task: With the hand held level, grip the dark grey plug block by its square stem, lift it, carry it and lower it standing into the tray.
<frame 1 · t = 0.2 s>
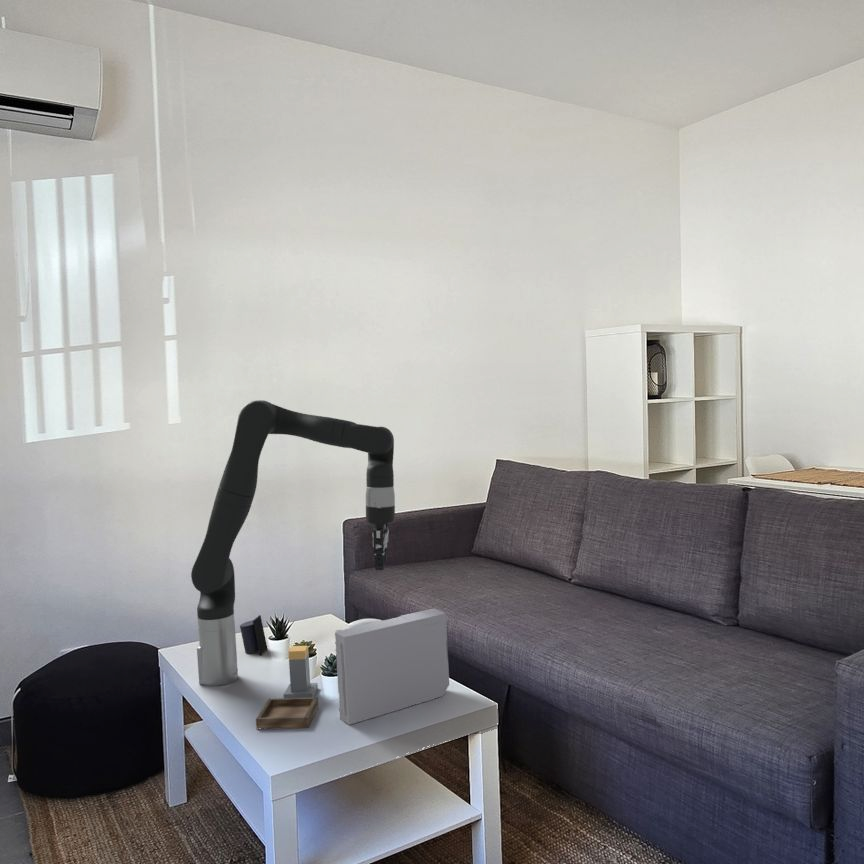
hand: (380, 566, 205), 28 cm above the table, tool pointing down, fingers open, 8 cm apart
speaker: (253, 652, 229), on the table
tray: (288, 717, 180), on the table
game console: (394, 706, 184), on the table
photo printer: (367, 665, 214), on the table
plug: (301, 694, 194), on the table
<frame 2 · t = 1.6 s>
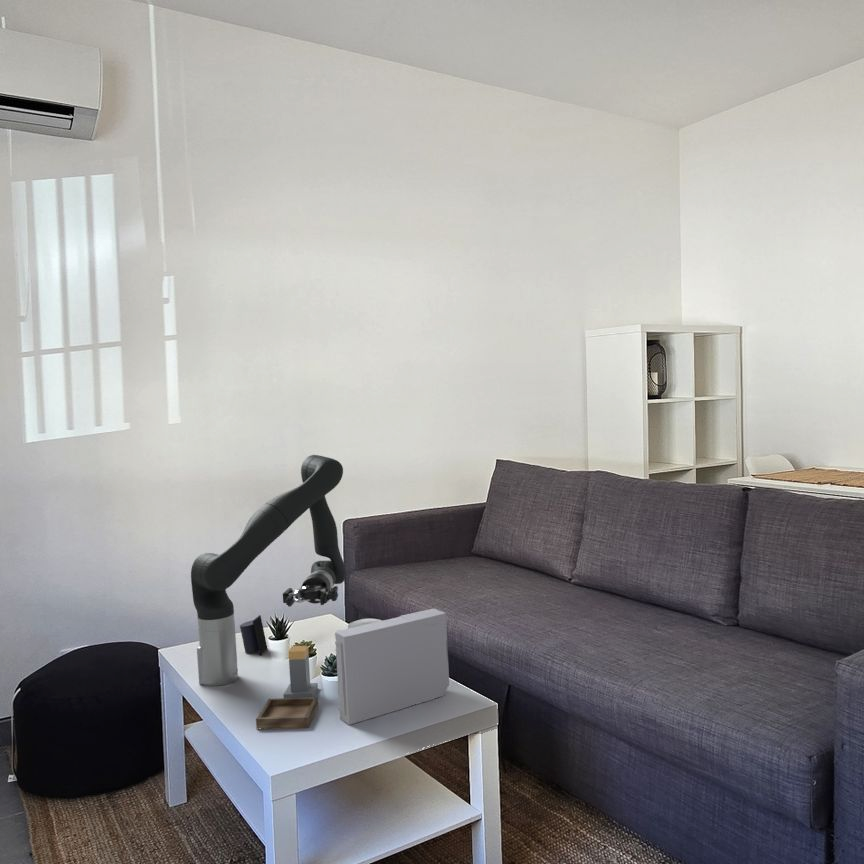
hand: (305, 602, 204), 20 cm above the table, tool horizontal, fingers open, 8 cm apart
nothing on the table moved.
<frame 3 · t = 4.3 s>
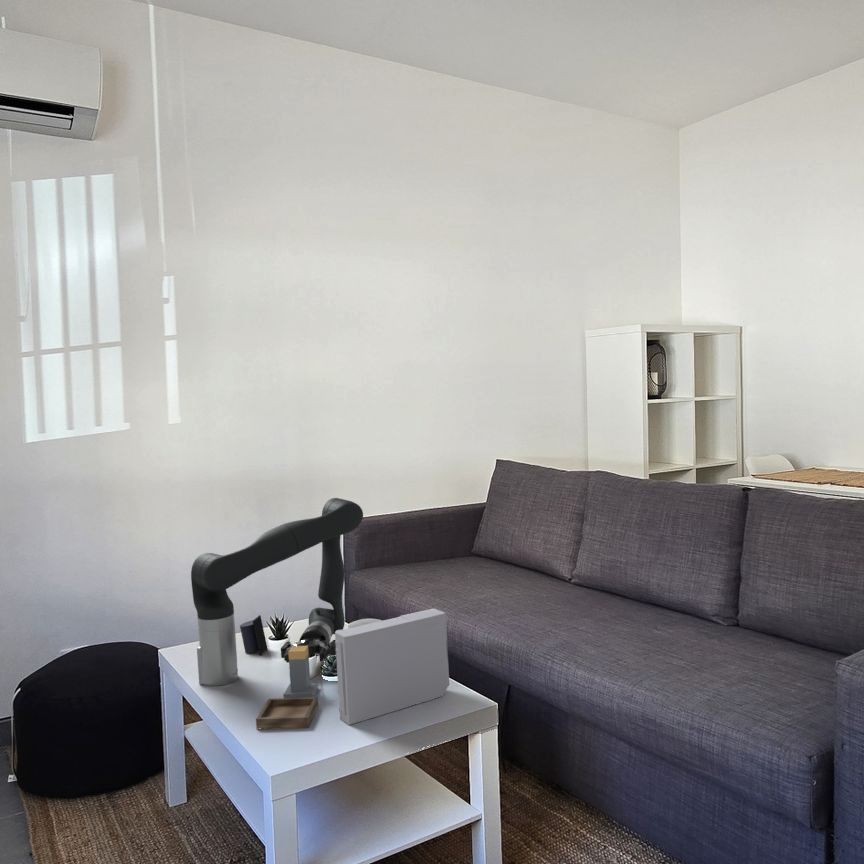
hand: (304, 658, 200), 7 cm above the table, tool horizontal, fingers open, 8 cm apart
nothing on the table moved.
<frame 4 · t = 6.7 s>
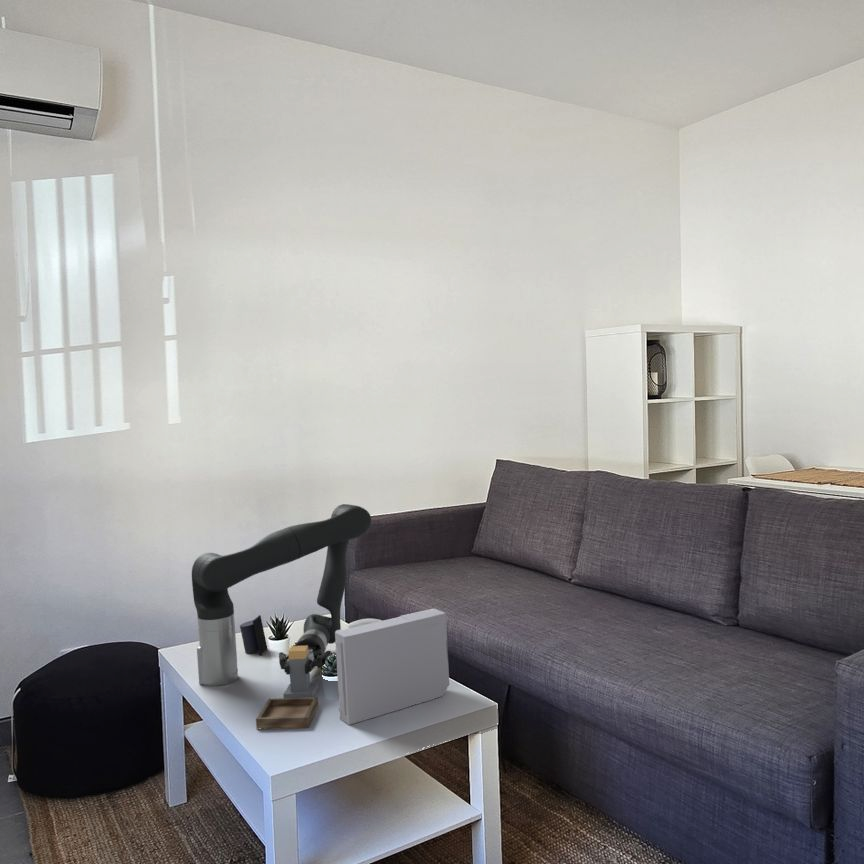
hand: (297, 670, 191), 7 cm above the table, tool horizontal, fingers closed on plug, 4 cm apart
plug: (301, 694, 194), on the table, touching gripper
everything else where it was.
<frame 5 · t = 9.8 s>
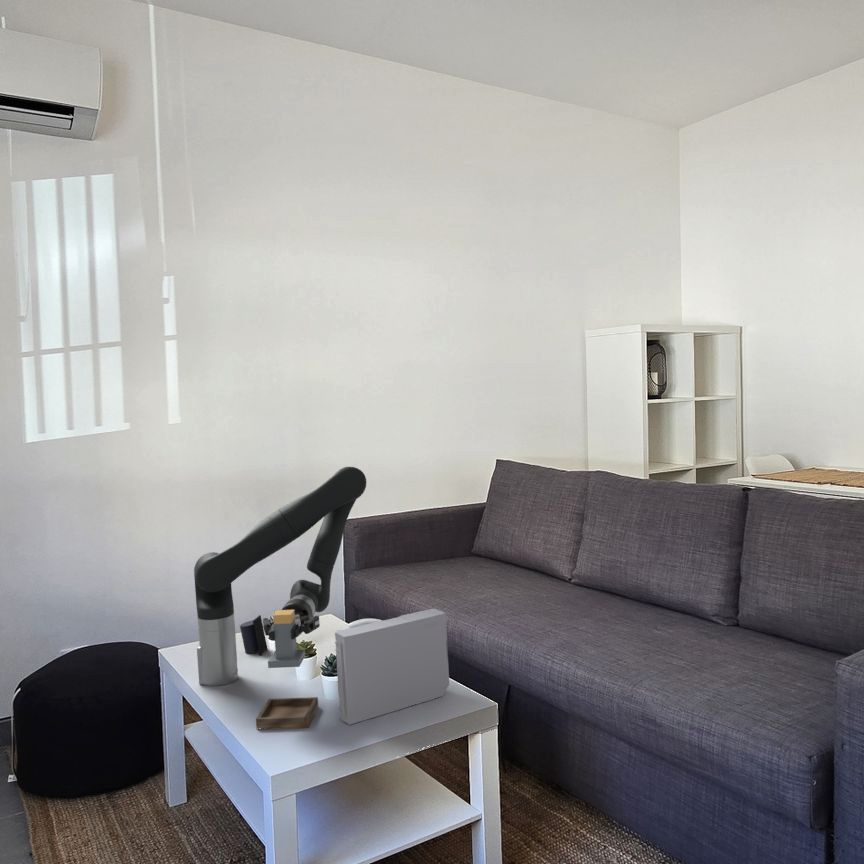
hand: (282, 635, 177), 20 cm above the table, tool horizontal, fingers closed on plug, 4 cm apart
plug: (287, 661, 180), point 13 cm above the table, touching gripper
everything else where it was.
when the fingers open (9 cm above the table, at t = 13.2 s): plug stays where it is, resting on tray.
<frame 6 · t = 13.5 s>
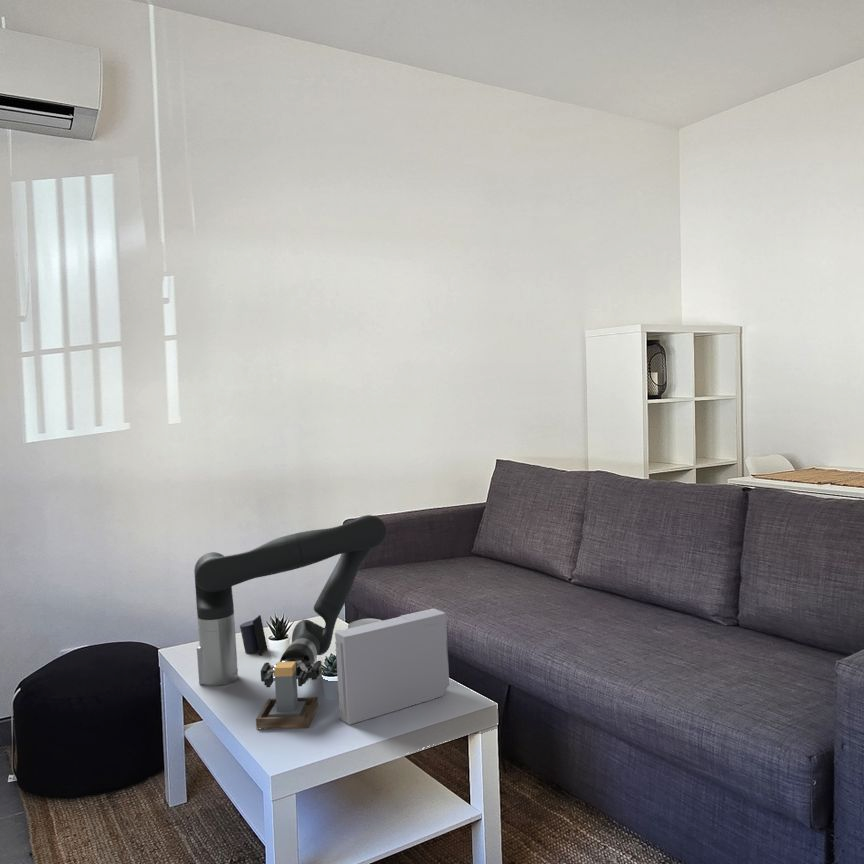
hand: (283, 682, 178), 9 cm above the table, tool horizontal, fingers open, 6 cm apart
plug: (288, 714, 181), point 1 cm above the table, touching tray
everything else where it was.
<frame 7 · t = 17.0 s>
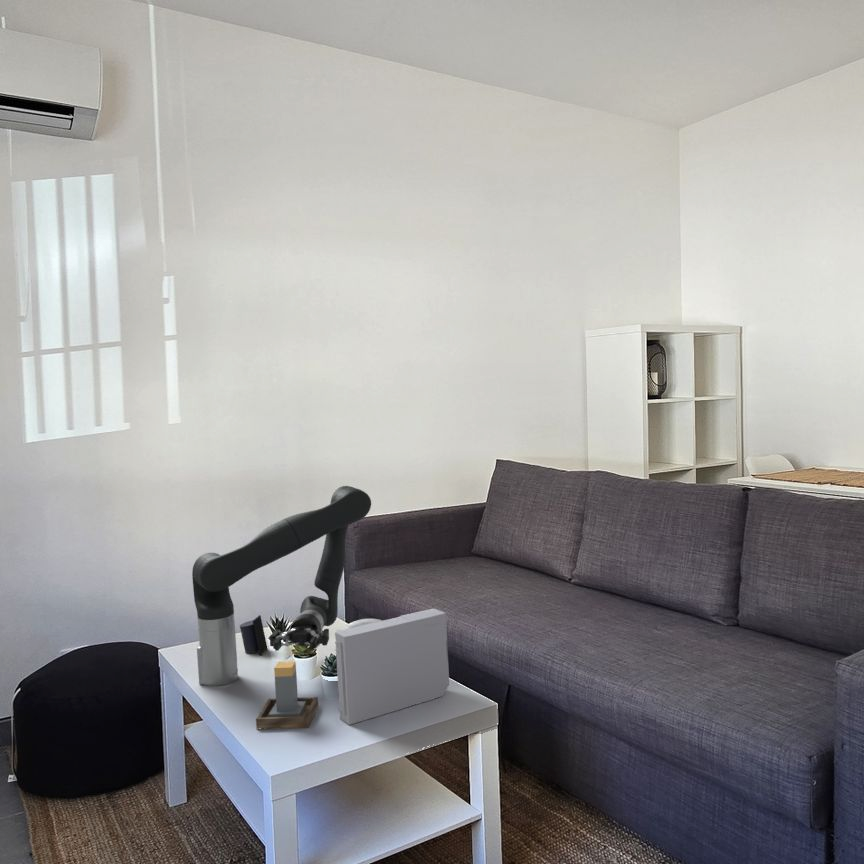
hand: (293, 646, 191), 13 cm above the table, tool horizontal, fingers open, 8 cm apart
nothing on the table moved.
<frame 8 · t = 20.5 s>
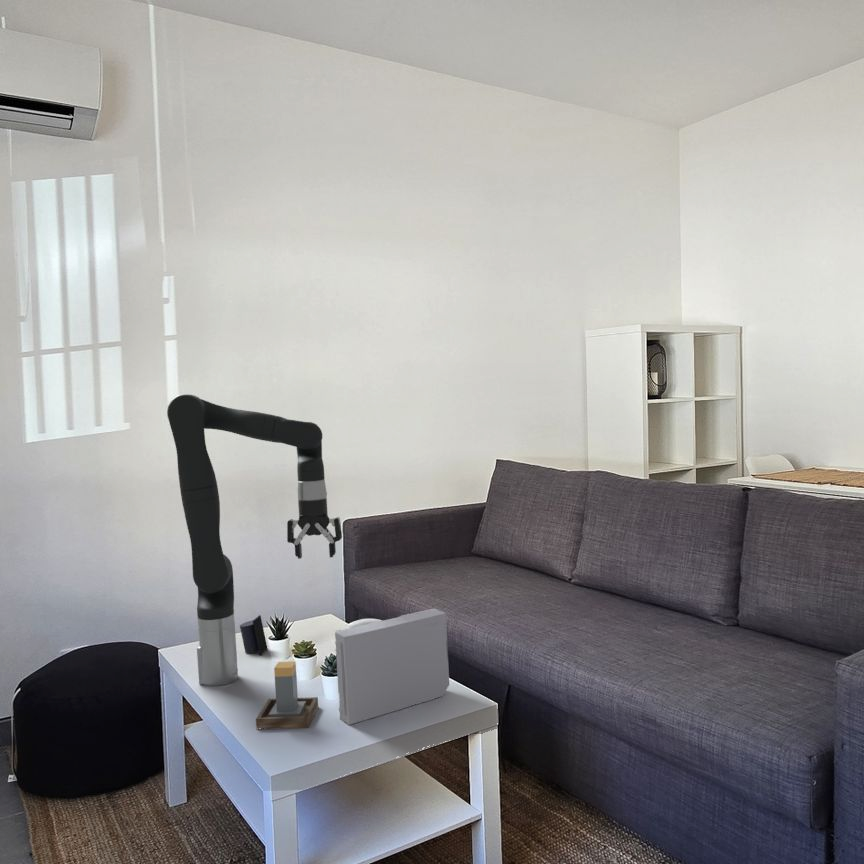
hand: (315, 557, 211), 30 cm above the table, tool pointing down, fingers open, 8 cm apart
nothing on the table moved.
at the end: plug 0.1 cm off-centre on the tray, point 0.8 cm above the tray's base; plug tilted 0°; the gripper is holding nothing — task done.
